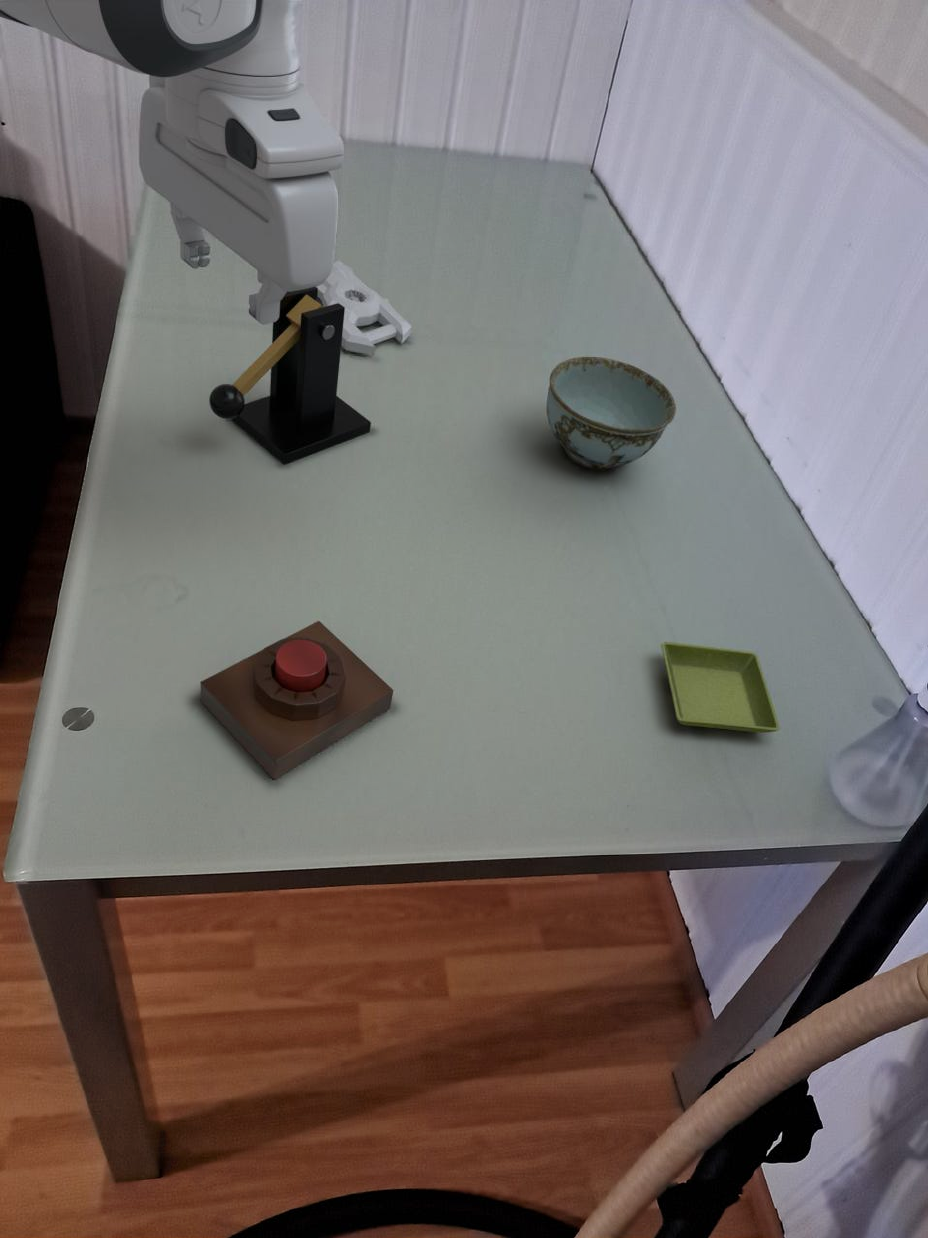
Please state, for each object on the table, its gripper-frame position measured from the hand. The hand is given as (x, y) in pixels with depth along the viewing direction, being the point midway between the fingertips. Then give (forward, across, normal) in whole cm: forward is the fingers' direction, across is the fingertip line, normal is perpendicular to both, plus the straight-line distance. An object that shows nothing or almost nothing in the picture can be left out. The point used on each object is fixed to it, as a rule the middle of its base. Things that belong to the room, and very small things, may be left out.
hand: (228, 290), depth 75 cm
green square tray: (+20, +43, +19) cm, 51 cm away
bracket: (+20, -6, +13) cm, 24 cm away
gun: (+20, -21, +31) cm, 43 cm away
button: (+16, +24, -9) cm, 31 cm away
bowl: (+20, +14, +37) cm, 44 cm away
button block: (+20, +24, -9) cm, 33 cm away
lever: (+12, -6, +9) cm, 16 cm away
